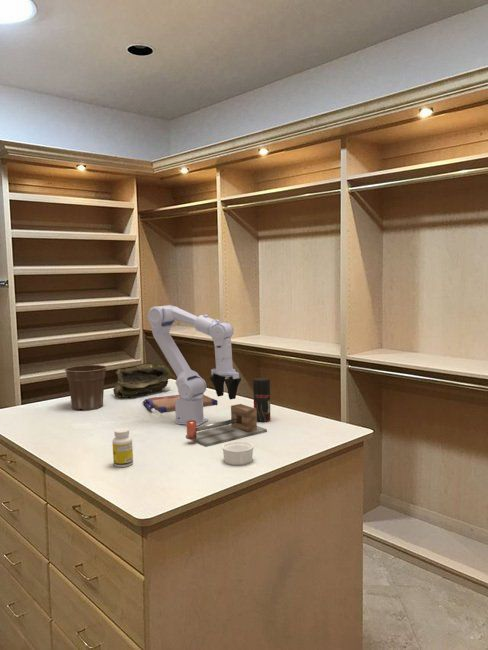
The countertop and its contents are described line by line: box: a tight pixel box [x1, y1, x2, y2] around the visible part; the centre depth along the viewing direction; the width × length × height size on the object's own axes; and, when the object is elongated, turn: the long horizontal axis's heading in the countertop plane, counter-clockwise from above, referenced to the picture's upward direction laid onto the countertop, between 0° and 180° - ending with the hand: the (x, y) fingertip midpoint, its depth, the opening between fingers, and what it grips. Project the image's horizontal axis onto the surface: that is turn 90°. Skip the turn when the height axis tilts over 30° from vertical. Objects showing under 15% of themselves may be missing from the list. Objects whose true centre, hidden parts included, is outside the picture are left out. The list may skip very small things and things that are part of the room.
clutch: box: [142, 394, 219, 414], centre depth 219 cm, size 28×5×20 cm
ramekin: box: [221, 440, 255, 466], centre depth 152 cm, size 9×9×4 cm
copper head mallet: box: [186, 418, 236, 440], centre depth 173 cm, size 18×3×5 cm, turn 126°
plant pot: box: [64, 364, 108, 411], centre depth 217 cm, size 16×16×16 cm
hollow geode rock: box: [112, 362, 173, 398], centre depth 242 cm, size 28×13×15 cm
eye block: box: [185, 403, 268, 447], centre depth 176 cm, size 24×12×8 cm, turn 126°
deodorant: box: [252, 377, 272, 423], centre depth 192 cm, size 6×6×15 cm
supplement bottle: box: [111, 427, 134, 468], centre depth 150 cm, size 5×5×10 cm
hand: (226, 397), depth 184 cm, fingers open, 7 cm apart
